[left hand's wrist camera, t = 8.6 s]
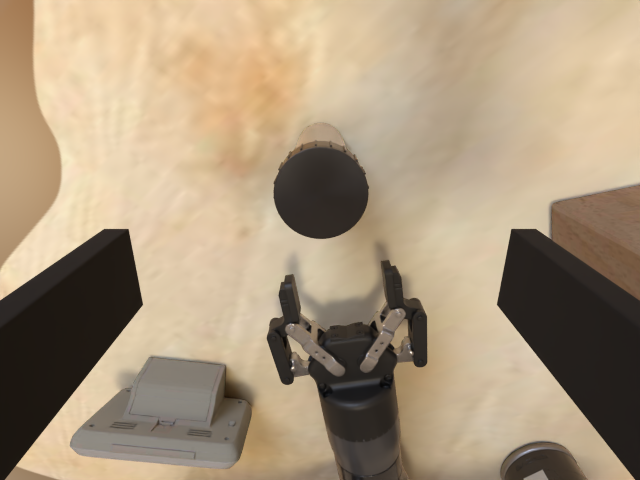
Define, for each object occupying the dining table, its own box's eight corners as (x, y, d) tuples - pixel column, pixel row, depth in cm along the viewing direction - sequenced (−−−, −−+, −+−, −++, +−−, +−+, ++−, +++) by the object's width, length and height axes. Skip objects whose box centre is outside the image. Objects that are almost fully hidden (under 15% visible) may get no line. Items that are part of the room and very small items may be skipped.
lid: (294, 125, 22) (291, 130, 20) (379, 158, 23) (385, 167, 21) (265, 208, 24) (260, 221, 22) (344, 237, 25) (347, 252, 23)
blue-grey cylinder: (306, 115, 36) (297, 141, 21) (351, 133, 36) (373, 170, 21) (291, 160, 37) (271, 214, 22) (333, 176, 38) (342, 240, 23)
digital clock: (114, 396, 48) (60, 478, 38) (125, 336, 45) (70, 409, 35) (244, 429, 50) (226, 515, 40) (264, 374, 47) (250, 454, 37)
